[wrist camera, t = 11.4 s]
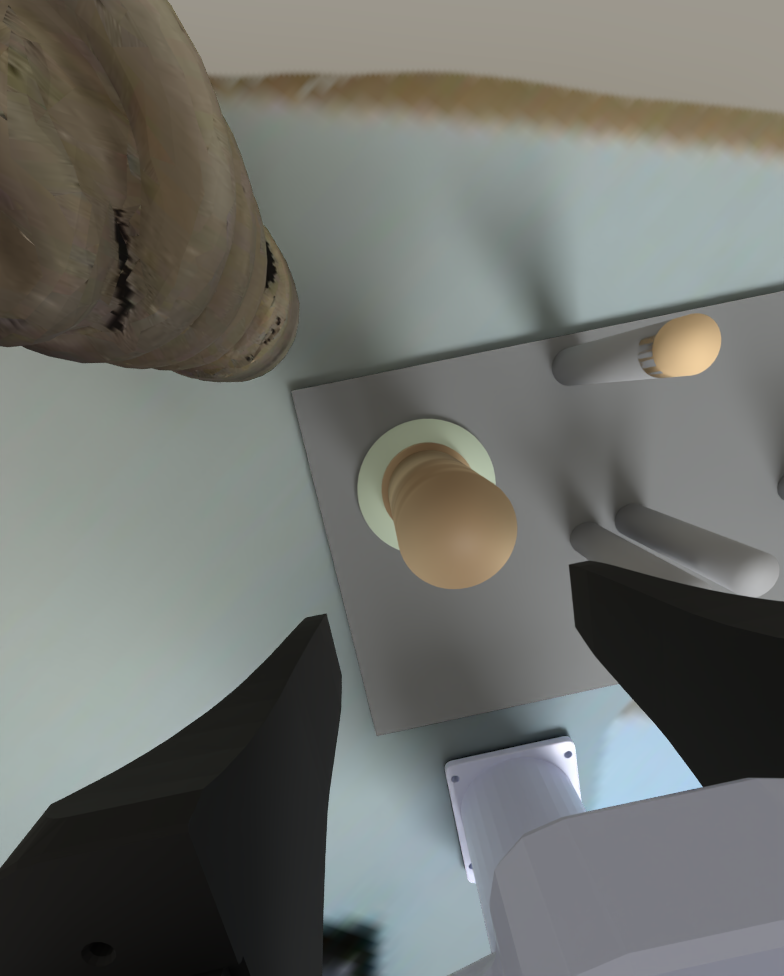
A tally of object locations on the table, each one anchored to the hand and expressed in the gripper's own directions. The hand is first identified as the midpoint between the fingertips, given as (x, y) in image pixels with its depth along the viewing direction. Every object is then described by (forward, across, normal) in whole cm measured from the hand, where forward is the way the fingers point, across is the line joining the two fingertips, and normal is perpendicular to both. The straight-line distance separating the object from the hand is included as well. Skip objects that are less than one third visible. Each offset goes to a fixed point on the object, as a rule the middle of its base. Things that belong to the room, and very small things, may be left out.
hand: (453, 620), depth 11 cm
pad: (+9, -1, -2) cm, 10 cm away
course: (+10, -9, +2) cm, 13 cm away
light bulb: (+10, +5, -11) cm, 16 cm away
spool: (+9, -1, -2) cm, 9 cm away
